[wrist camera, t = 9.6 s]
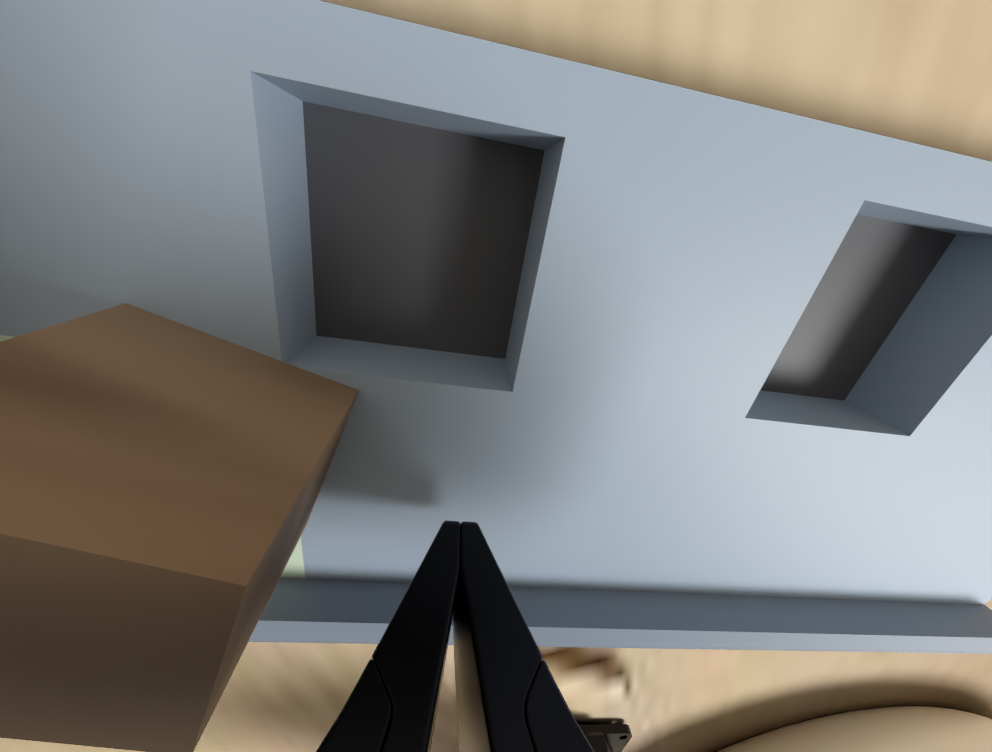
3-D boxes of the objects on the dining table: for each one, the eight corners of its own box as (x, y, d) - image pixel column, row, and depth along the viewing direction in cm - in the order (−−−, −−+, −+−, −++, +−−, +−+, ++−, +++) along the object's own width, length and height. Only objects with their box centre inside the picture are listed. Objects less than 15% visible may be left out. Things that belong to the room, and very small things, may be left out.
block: (307, 522, 10) (190, 755, 6) (113, 471, 8) (-207, 717, 4) (358, 389, 8) (245, 586, 4) (126, 303, 7) (-370, 454, 3)
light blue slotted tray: (910, 573, 16) (1020, 666, 13) (110, 532, 12) (-22, 655, 9) (1238, 249, 10) (1600, 273, 7) (-148, -63, 6) (-890, -376, 3)
